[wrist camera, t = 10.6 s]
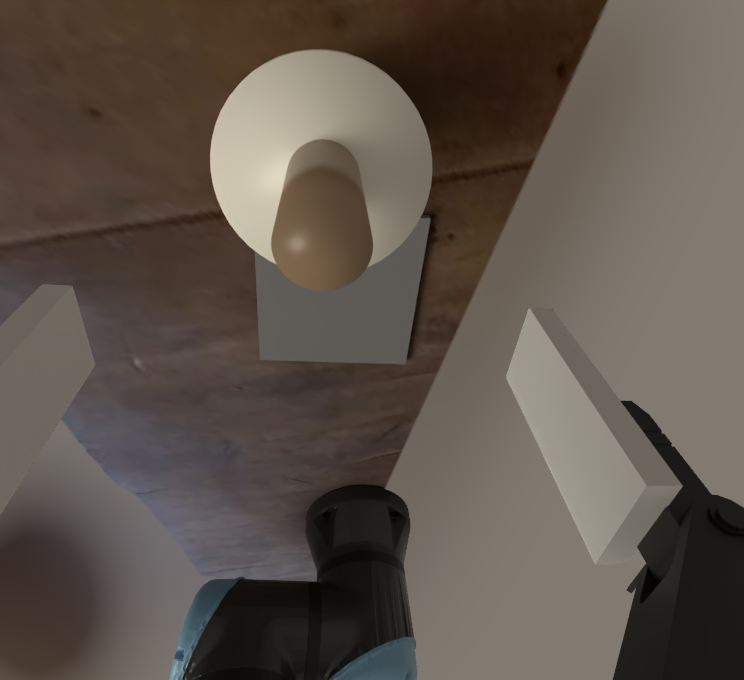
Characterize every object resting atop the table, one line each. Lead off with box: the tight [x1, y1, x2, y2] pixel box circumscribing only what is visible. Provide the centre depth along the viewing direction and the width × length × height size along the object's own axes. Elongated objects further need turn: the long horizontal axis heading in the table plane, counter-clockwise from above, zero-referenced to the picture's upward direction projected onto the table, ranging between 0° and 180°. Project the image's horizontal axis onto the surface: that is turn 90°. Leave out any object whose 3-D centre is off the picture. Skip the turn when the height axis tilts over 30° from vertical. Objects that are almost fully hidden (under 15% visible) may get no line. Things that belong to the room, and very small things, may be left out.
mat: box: [255, 215, 431, 364], centre depth 48 cm, size 17×16×1 cm
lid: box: [210, 49, 432, 291], centre depth 23 cm, size 12×12×10 cm
